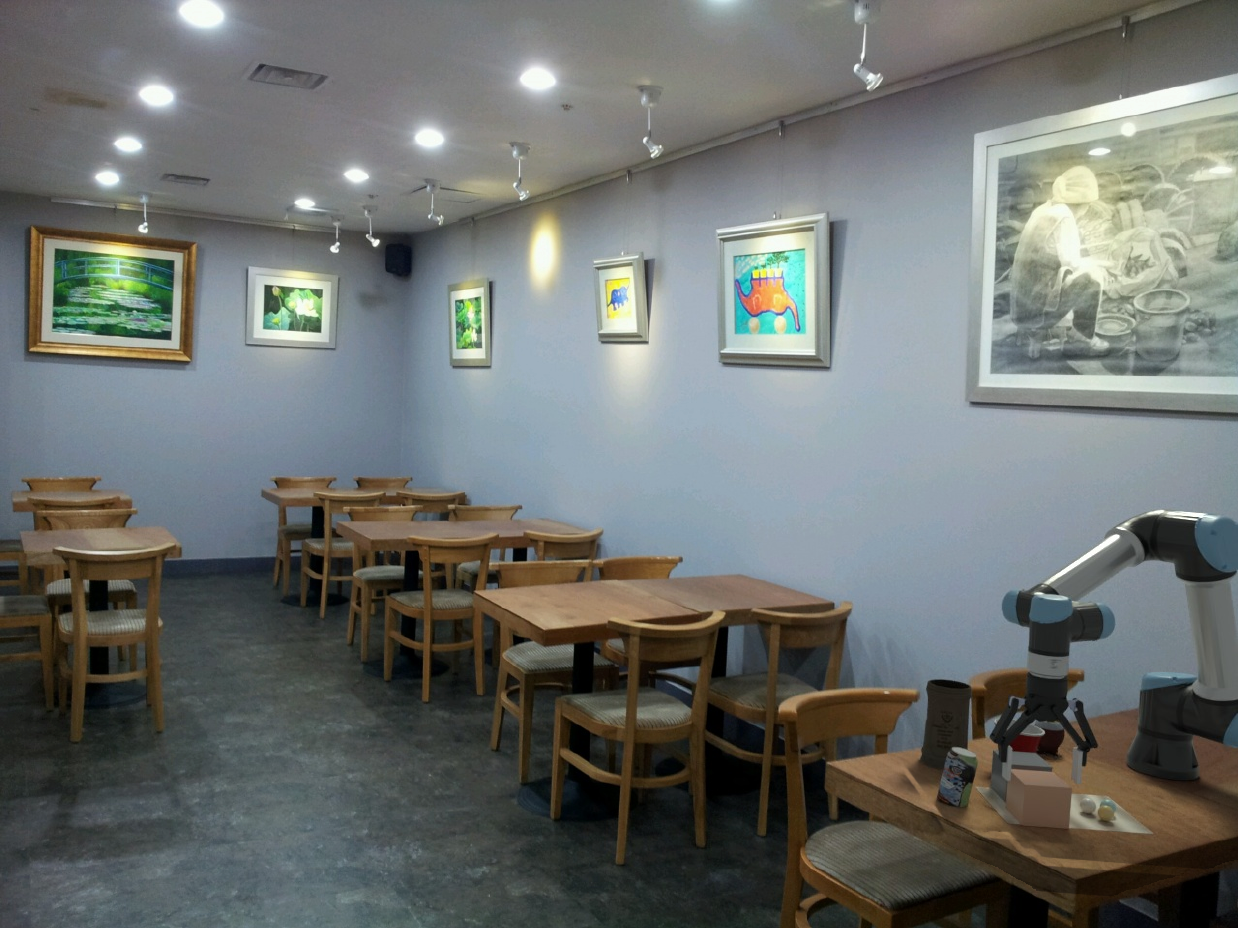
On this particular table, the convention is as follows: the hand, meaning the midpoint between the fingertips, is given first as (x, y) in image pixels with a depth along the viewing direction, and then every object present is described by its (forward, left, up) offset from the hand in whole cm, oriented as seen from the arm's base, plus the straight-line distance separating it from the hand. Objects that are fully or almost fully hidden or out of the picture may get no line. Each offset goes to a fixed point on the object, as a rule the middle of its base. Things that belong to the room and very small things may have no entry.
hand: (1041, 780), depth 197 cm
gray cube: (-1, -12, -8) cm, 14 cm away
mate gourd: (-21, -48, -9) cm, 53 cm away
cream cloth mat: (-7, -6, -9) cm, 12 cm away
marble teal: (-16, -5, -8) cm, 18 cm away
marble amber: (-14, -1, -8) cm, 16 cm away
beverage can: (+14, -6, -9) cm, 18 cm away
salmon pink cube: (0, 0, -8) cm, 8 cm away
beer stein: (+9, -33, -9) cm, 35 cm away
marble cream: (-12, -5, -8) cm, 14 cm away
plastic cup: (-6, -28, -9) cm, 30 cm away
